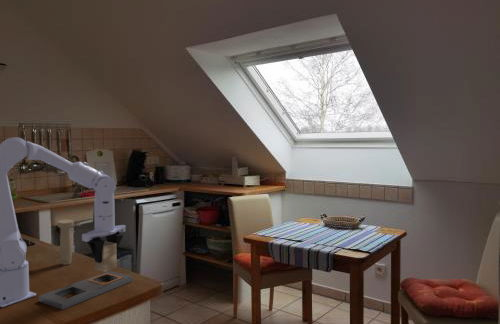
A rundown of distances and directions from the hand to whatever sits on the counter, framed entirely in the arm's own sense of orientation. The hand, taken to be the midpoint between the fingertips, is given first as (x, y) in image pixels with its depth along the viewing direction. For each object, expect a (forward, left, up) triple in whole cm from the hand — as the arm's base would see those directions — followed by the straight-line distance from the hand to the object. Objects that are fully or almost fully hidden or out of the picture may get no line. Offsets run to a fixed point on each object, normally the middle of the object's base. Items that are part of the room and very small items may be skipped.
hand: (105, 259), depth 122 cm
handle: (+6, +27, -8) cm, 29 cm away
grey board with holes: (-6, 0, -8) cm, 10 cm away
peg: (0, 0, -3) cm, 3 cm away
